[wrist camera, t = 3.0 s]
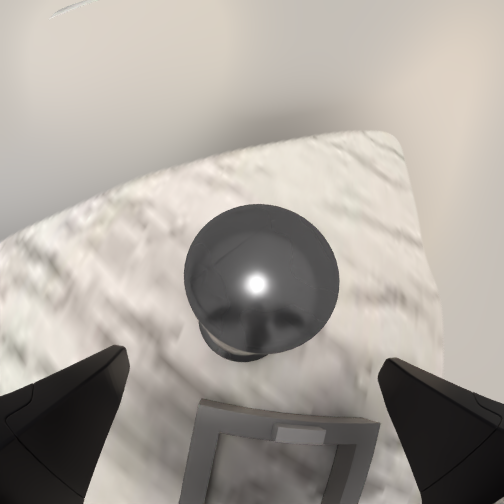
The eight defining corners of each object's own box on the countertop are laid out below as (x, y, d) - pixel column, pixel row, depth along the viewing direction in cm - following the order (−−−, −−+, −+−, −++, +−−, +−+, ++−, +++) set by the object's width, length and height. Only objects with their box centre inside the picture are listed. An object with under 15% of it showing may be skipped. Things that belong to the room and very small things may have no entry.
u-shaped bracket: (330, 524, 14) (350, 546, 10) (178, 513, 13) (171, 540, 9) (361, 417, 18) (390, 425, 14) (201, 398, 18) (196, 407, 14)
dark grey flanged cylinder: (299, 338, 20) (371, 310, 10) (221, 376, 19) (222, 390, 9) (261, 265, 22) (295, 181, 12) (185, 297, 21) (154, 232, 10)
